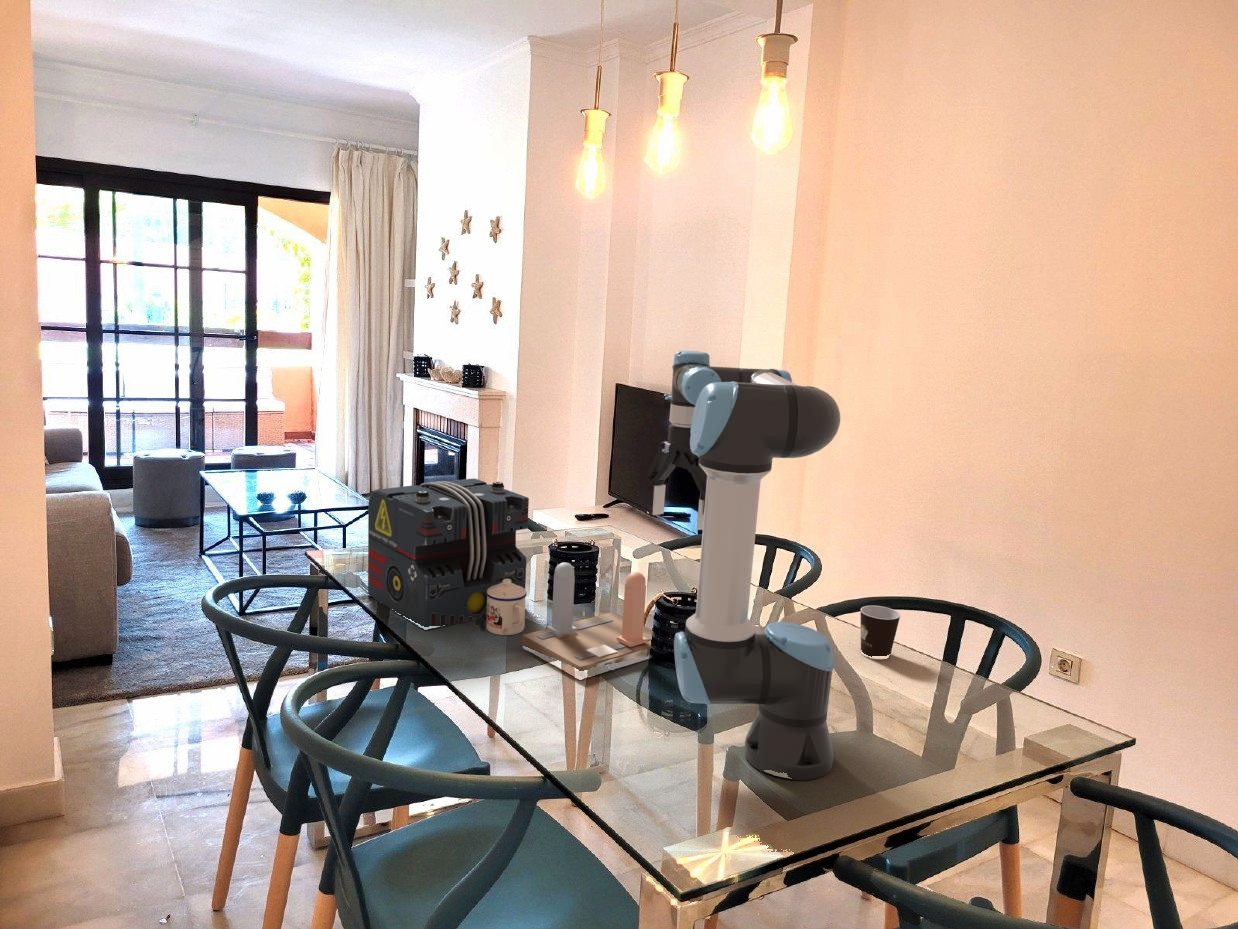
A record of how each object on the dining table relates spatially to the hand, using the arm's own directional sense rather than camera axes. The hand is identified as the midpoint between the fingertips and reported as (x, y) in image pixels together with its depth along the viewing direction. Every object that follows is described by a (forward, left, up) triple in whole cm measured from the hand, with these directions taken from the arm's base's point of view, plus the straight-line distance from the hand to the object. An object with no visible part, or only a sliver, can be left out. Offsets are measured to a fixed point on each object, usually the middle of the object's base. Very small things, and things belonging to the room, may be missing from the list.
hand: (679, 521), depth 201 cm
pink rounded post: (-10, +5, -25) cm, 28 cm away
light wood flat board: (-11, +12, -29) cm, 33 cm away
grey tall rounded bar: (-14, +20, -26) cm, 35 cm away
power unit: (-7, +57, -29) cm, 65 cm away
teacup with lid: (-13, +34, -29) cm, 47 cm away
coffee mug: (+25, -40, -29) cm, 55 cm away
